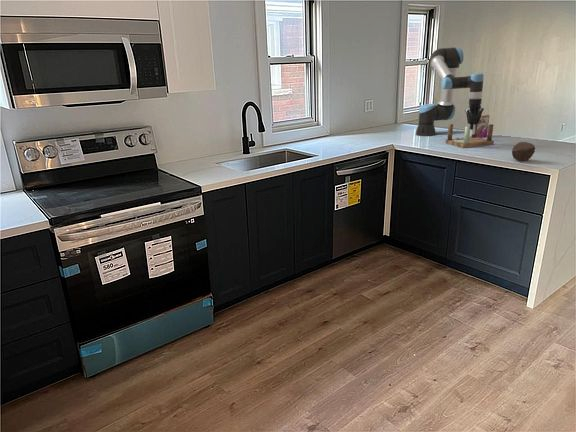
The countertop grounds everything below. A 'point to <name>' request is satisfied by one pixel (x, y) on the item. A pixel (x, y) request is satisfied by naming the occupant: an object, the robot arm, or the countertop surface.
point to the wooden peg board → (471, 138)
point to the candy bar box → (482, 126)
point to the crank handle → (466, 137)
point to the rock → (523, 151)
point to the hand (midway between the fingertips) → (472, 134)
